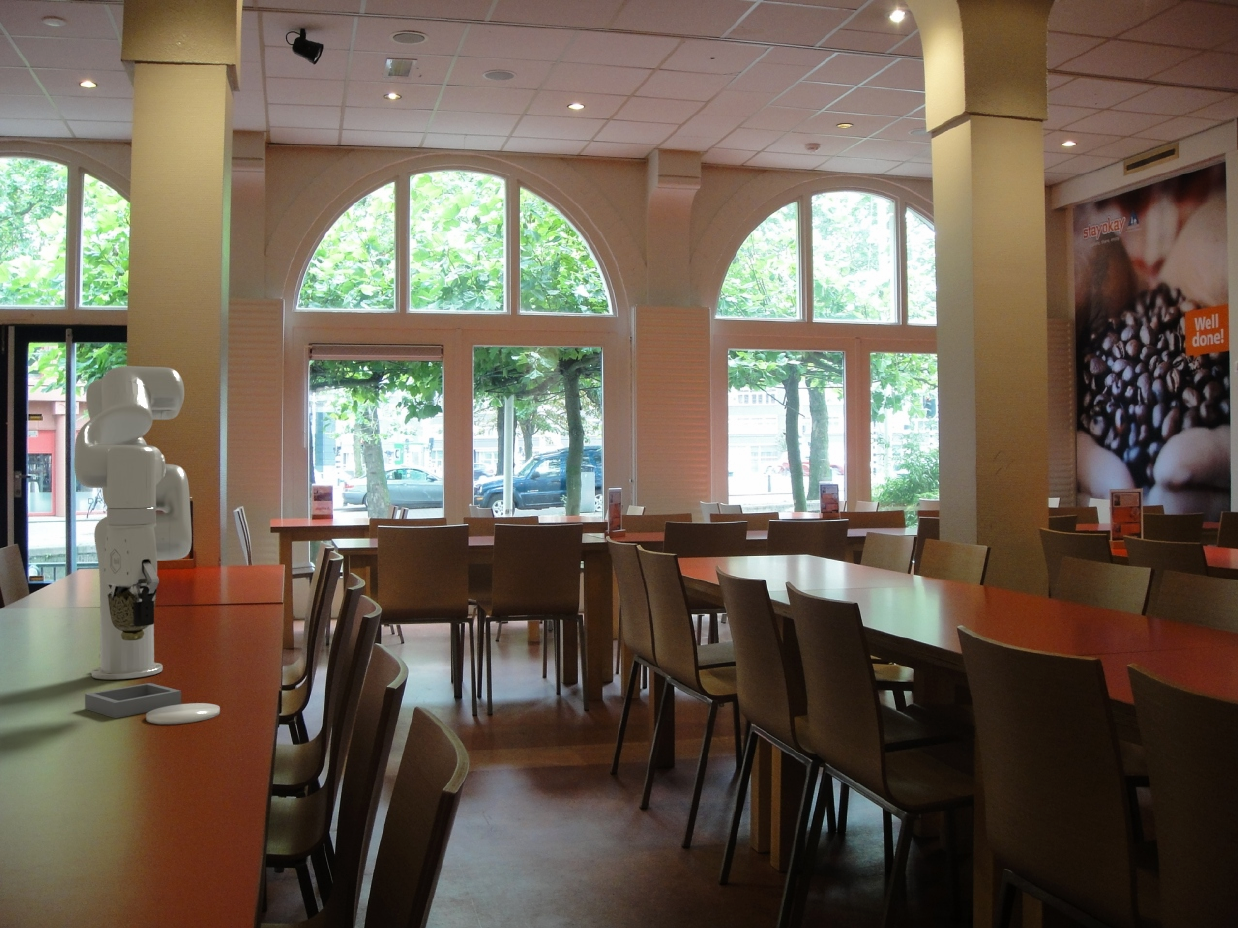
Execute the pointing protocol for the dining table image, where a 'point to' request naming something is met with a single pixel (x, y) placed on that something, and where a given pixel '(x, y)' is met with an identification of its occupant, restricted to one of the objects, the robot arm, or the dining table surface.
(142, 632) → the ornate bronze lamp shade
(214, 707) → the coaster
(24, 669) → the dining table surface
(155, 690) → the pocket frame
